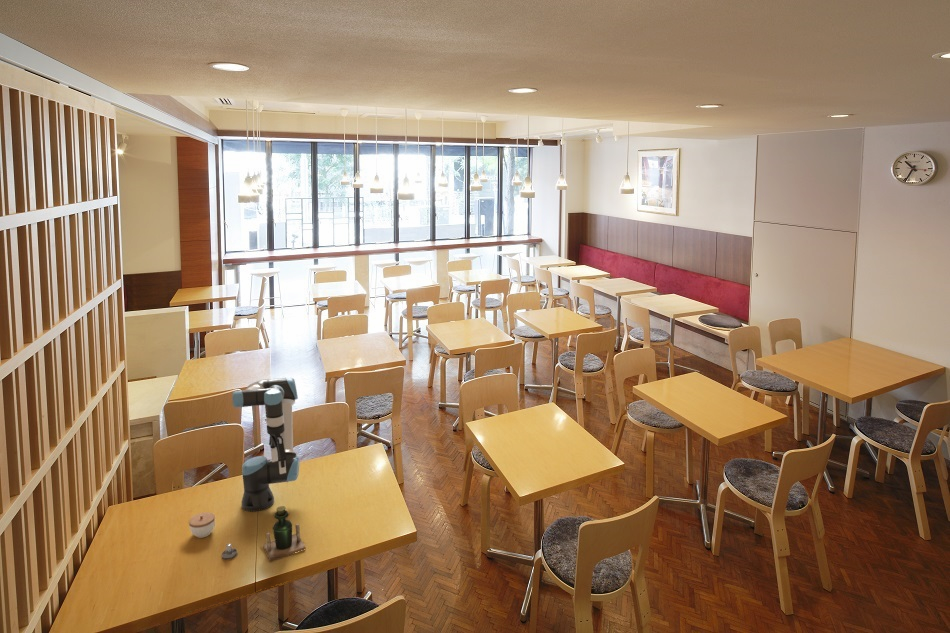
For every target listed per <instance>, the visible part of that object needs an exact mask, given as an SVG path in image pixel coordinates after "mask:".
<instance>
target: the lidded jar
mask: <svg viewBox="0 0 950 633" xmlns="http://www.w3.org/2000/svg"><path fill="white" fill-rule="evenodd" d="M215 518H216V517H215V514H214V513H213V512H209V511H208V512H207V511H206V512H205V511H204V512H200V513H197V514H194V515H193V516H191V517H190V518H189V520H188V526H189V530H190V532H191V534H192V535H193V536H195V537H196V538H197V539H198V538H199V539H200V538H201V539H202V538H206V537H208V536H210V534H211V533H212V531H214V528H215V526H216V519H215Z"/></svg>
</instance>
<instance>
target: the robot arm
mask: <svg viewBox="0 0 950 633" xmlns="http://www.w3.org/2000/svg"><path fill="white" fill-rule="evenodd" d="M295 380H296V379H294V378H293V377H284V378H283V377H282V378H270V379H269V378H268V379H261V380H258V381H255V382H253V383H250V384H249V385H248V386H246V388H245V389H243V390H242V389H241V390H240V389H239V390H236V391H235V390H234V391H233V392H232V397H231V398H232V399H231V400H232V406H233V407H234V408H247V407H255V406H256V407H257V406H260V407H261V406H264V410H265V411H264V412H265V419H264V422H266V423H265V424H266V433H267V434H268V435H269V443H268V445H269V447H270V457H271V459H268V458H267V456H263V455H257V456H254V457H251V458H249V459H247V460H246V461H245V462H244V463H243V464H242V466H241V474H242V482H243V495H242V499H241V508H242V509H243V510H244V511H246V512H260V511H263V510H266V509H268V508H270V507H271V506H272V505H273V504H274V502H275V497H274V494H273V492H272V490H271V488H270V485H271V484H272V485H273V484H279V483H280V484H281V483H289V482H295V481H297V479H298V478H299V472H300V460H301V459H300V456H298V455H297V453H296V451H294V434H293V433H294V430H293V429H294V428H293V426H294V425H293V406H294V404H296V400H298V398H299V397H298V396H299V395H298V392H297V384H296V381H295Z"/></svg>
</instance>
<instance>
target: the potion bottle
mask: <svg viewBox="0 0 950 633" xmlns="http://www.w3.org/2000/svg"><path fill="white" fill-rule="evenodd" d="M289 516H290V515H289V512H288V510H286V506H284V505H280V506H278V507H276V512H275V513H274V519H276V520H277V521H276V522H275V523H273V525H272V532H273V537H274V540H275V543H276V547H277V548H278V549H280V550H283V549H287V548H289V547H290V546H291V545H292V535H293V523H292V522H291V521H290V520H289V519H287V518H288V517H289Z"/></svg>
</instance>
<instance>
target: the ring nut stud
mask: <svg viewBox="0 0 950 633" xmlns="http://www.w3.org/2000/svg"><path fill="white" fill-rule="evenodd" d="M237 556H238V550H237V549H236V548H233V544H232V543H231V542H229V543H227V544H225V550H224V551H223V552H222V553H221V557H222V559H223V560H225V561H227V560H232V559H234V558H235V557H237Z"/></svg>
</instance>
